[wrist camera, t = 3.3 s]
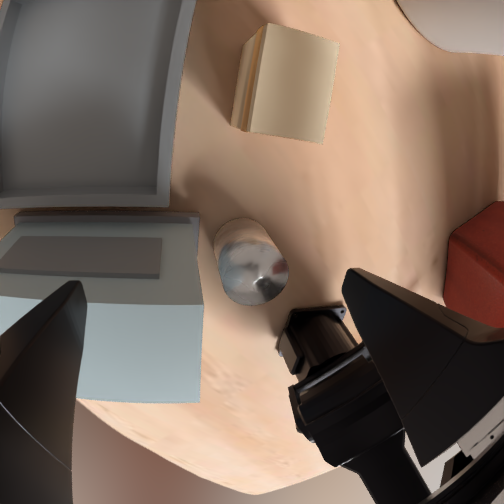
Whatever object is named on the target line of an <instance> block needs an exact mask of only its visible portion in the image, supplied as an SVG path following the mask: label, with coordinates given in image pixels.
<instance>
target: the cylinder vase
mask: <svg viewBox="0 0 504 504" xmlns="http://www.w3.org/2000/svg"><path fill="white" fill-rule="evenodd" d="M397 2H398V4H399V6H400V7H401V9H402V11H403V12H404V14H405V15H406V17H407V18H408V20H409V21H410V22H411V23H412V25H413V26H414V27H415V28H416V29H417V30H418V32H419V33H420V34H421V35H422V36H423V37H425V38H426V39H427V40H428V41H429V42H431V43H432V44H433V45H435V46H437V47H438V48H440V49H442V50H445V51H448V52H460V53H479V54H491V55H500V56H504V0H397Z"/></svg>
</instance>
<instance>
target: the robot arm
mask: <svg viewBox="0 0 504 504" xmlns="http://www.w3.org/2000/svg"><path fill="white" fill-rule="evenodd" d="M342 294H343V297H344V299H345V302H346V304H347V307H348V309H349V312H350V314H351V316H352V319H353V321H354V324H355V326H356V328H357V330H358V332H359V334H360V336H361V338H362V340H363V341H362V342H361V343H360V344H358V343H357V342H356V340H355V339H354V337H353V336H352V334H351V333H350V332H349V330H348V329H347V327H346V326H345V324H344V323H343V322H342V320H343V318H344V315H345V313H346V308H345V307H344V306H332V307H320V308H306V309H294V310H292V311H291V312H290V314H289V317H288V320H287V324H286V327H285V329H284V330H283V333H282V337H281V340H280V343H279V350H278V353H279V355H280V356H282V357H284V360H285V362H286V364H287V367H288V369H289V371H290V373H291V374H292V375H296V377H297V379H298V381H299V382H298V383H297V384H295V385H291V386H290V387H288V390H289V398H290V402H291V406H292V411H293V415H294V419H295V423H296V429H297V431H298V432H299V433H302V434H304V436H305V437H306V438H307V439H308V440H309V441H310V442H312V443H316V445H317V447H318V448H319V450H320V452H321V454H322V456H323V458H324V460H325V461H326V462H327V463H329V464H330V465H332V466H334V467H338V466H342V467H344V468H346V469H348V470H351V471H353V472H355V473H357V474H358V475H359V476H360V478H361V479H362V481H363V483H364V484H365V486H366V488H367V490H368V491H369V493H370V495H371V497H372V498H373V500H374V502H375V503H376V504H504V328H495V327H491V326H488V325H486V324H484V323H481V322H479V321H476V320H474V319H472V318H469V317H467V316H464V315H462V314H460V313H457V312H455V311H453V310H451V309H449V308H446V307H444V306H442V305H440V304H437V303H436V302H434V301H431V300H429V299H427V298H425V297H423V296H421V295H418V294H416V293H414V292H412V291H410V290H407V289H405V288H403V287H401V286H399V285H396V284H394V283H392V282H390V281H388V280H385V279H383V278H381V277H379V276H376V275H374V274H372V273H370V272H367V271H365V270H363V269H360V268H350V269H348V270H347V272H346V275H345V279H344V282H343V285H342ZM87 308H88V305H87V300H86V296H85V292H84V288H83V285H82V282H81V281H80V280H69V281H67V282H66V283H65V284H63V285H62V286H61V287H59V288H58V289H57V290H55V291H54V292H53V293H52V294H50V295H49V296H48V297H46V298H45V299H44V300H43V301H41V302H40V303H39V304H37V305H36V306H35V307H34V308H32V309H31V310H30V311H29V312H28V313H26V314H25V315H24V316H23V317H21V318H20V319H19V320H18V321H17V322H15V323H14V324H13V325H12V326H11V327H10V328H8V329H7V330H6V331H5V332H4V333H3V334H1V335H0V504H73V498H72V471H71V470H72V437H73V423H74V411H75V401H76V394H77V386H78V379H79V372H80V366H81V360H82V355H83V348H84V337H85V326H86V317H87ZM294 314H295V315H294ZM405 431H406V433H407V435H408V438H409V440H410V442H411V445H412V447H413V449H414V452H415V454H416V457H417V459H418V462H419V464H420V466H421V467H423V466H425V465H427V464H428V463H429V462H431V461H432V460H434V459H435V458H437V457H438V456H440V455H441V454H442V453H444V452H445V451H446V450H448V449H449V448H451V447H452V446H453V445H455V444H456V443H458V445H459V447H460V448H461V451H459V452H458V453H457V454H456V455H455V456H453V457H452V458H451V459H449V460H448V461H447V462H445V466H444V471H443V476H442V480H441V485H440V488H439V489H438V490H437V491H435V492H434V493H431V492H430V490H429V488H428V487H427V484H426V483H425V481H424V479H423V478H422V476H421V474H420V472H419V471H418V469H417V467H416V465H415V464H414V462H413V460H412V459H411V457H410V455H409V454H408V452H407V450H406V448H405V447H404V443H405Z"/></svg>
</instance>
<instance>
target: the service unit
mask: <svg viewBox="0 0 504 504" xmlns="http://www.w3.org/2000/svg"><path fill="white" fill-rule="evenodd" d="M14 222H15V227H14V228H13V229H12V230H11V231H10V232H9V233H8V234H7V235H6V236H5V237H4V238H3V239H2V240H1V241H0V335H1V334H3V333H4V332H5V331H6V330H7V329H8V328H10V327H11V326H12V325H13V324H14V323H15V322H17V321H18V320H19V319H20V318H21V317H23V316H24V315H25V314H26V313H28V312H29V311H30V310H31V309H32V308H34V307H35V306H36V305H37V304H39V303H40V302H41V301H43V300H44V299H45V298H46V297H48V296H49V295H50V294H52V293H53V292H54V291H55V290H57V289H58V288H59V287H61V286H62V285H63V284H65V283H66V282H67V281H69V280H80V281H81V282H82V285H83V288H84V292H85V296H86V300H87V305H88V308H87V317H86V326H85V337H84V348H83V355H82V360H81V366H80V372H79V379H78V386H77V394H76V398H80V399H89V400H100V401H112V402H129V403H197V402H200V377H201V351H202V330H203V313H204V302H203V296H202V289H201V283H200V276H199V270H198V263H197V250H198V236H199V223H200V215H199V212H168V211H30V212H18V213H17V214H16V215H15V216H14Z"/></svg>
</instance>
